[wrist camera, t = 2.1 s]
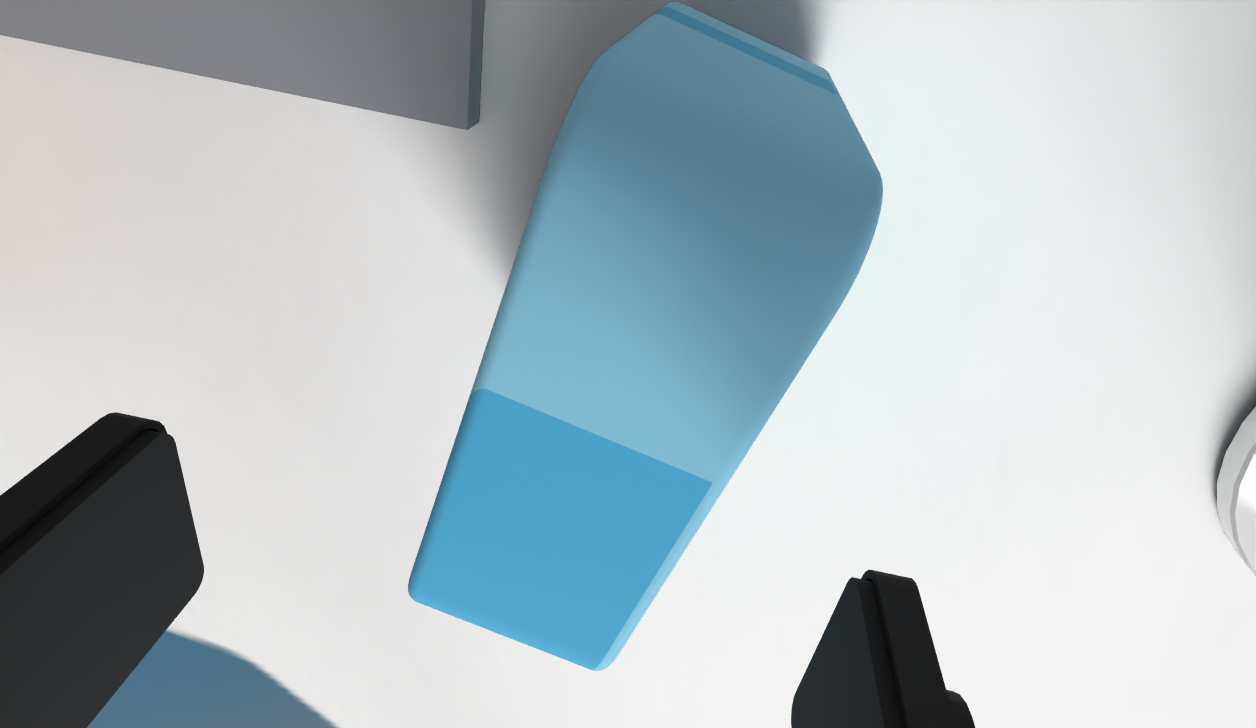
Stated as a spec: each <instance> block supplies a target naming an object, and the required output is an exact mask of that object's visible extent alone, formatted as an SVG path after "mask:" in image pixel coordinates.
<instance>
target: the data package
mask: <svg viewBox="0 0 1256 728" xmlns="http://www.w3.org/2000/svg"><path fill="white" fill-rule="evenodd" d="M882 195H883V186H882V179H881V176H880V173H879V171H878V169H877V167H876V165H875V163H874V161H873V159H872V157H871V155H870V153H869V151H868V149H867V147H866V145H865V143H864V141H863V139H862V137H861V135H860V133H859V131H858V130H857V128H856V126H855V124H854V122H853V120H852V118H851V116H850V114H849V112H848V110H847V108H846V106H845V104H844V102H843V100H842V98H841V96H840V94H839V92H838V90H837V88H836V87H835V85H834V83H833V81H832V79H831V77H830V75H829V73H828V72H827V71H826V70H825V69H823V68H821V67H819V66H817V65H815V64H813V63H811V62H808V61H806V60H804V59H802V58H800V57H798V56H795V55H793V54H791V53H789V52H787V51H784V50H782V49H780V48H778V47H776V46H774V45H771V44H769V43H767V42H765V41H763V40H761V39H758V38H756V37H754V36H752V35H750V34H748V33H745V32H743V31H741V30H739V29H737V28H735V27H732V26H730V25H728V24H726V23H724V22H722V21H719V20H717V19H715V18H713V17H711V16H709V15H706V14H704V13H702V12H700V11H698V10H696V9H693V8H691V7H689V6H687V5H685V4H682V3H680V2H678V1H671V2H669V3H667V4H666V5H664V6H663V7H662V8H661V9H659V10H658V11H657V12H655V13H654V14H653V15H651V16H650V17H649V18H648V19H646V20H645V21H644V22H642V23H641V24H640V25H638V26H637V27H636V28H635V29H633V30H632V31H631V32H629V33H628V34H627V35H626V36H624V37H623V38H622V39H620V40H619V41H618V42H616V43H615V44H614V45H613V46H611V47H610V48H609V49H607V50H606V51H605V52H603V53H602V54H601V55H600V56H599V57H598V58H597V59H596V61H595V62H594V63H593V65H592V66H591V68H590V69H589V71H588V73H587V74H586V76H585V78H584V80H583V82H582V84H581V85H580V87H579V89H578V91H577V93H576V95H575V98H574V100H573V102H572V104H571V106H570V108H569V110H568V113H567V115H566V117H565V120H564V122H563V124H562V127H561V129H560V131H559V134H558V136H557V139H556V141H555V144H554V147H553V149H552V152H551V154H550V157H549V160H548V163H547V165H546V168H545V171H544V174H543V177H542V180H541V183H540V186H539V189H538V192H537V195H536V198H535V201H534V204H533V207H532V210H531V213H530V216H529V219H528V222H527V225H526V228H525V231H524V234H523V237H522V240H521V243H520V246H519V249H518V252H517V255H516V258H515V261H514V264H513V267H512V270H511V273H510V276H509V279H508V282H507V285H506V288H505V291H504V294H503V297H502V300H501V303H500V306H499V309H498V312H497V316H496V319H495V322H494V325H493V328H492V331H491V334H490V337H489V340H488V343H487V346H486V349H485V352H484V355H483V358H482V361H481V364H480V367H479V370H478V373H477V376H476V379H475V382H474V385H473V388H472V391H471V394H470V397H469V400H468V403H467V406H466V409H465V412H464V415H463V418H462V421H461V424H460V427H459V430H458V433H457V436H456V439H455V442H454V445H453V448H452V451H451V454H450V457H449V460H448V463H447V466H446V469H445V472H444V475H443V478H442V481H441V484H440V487H439V491H438V494H437V497H436V500H435V503H434V506H433V509H432V512H431V515H430V518H429V521H428V524H427V527H426V530H425V533H424V536H423V539H422V542H421V545H420V548H419V551H418V554H417V557H416V560H415V563H414V566H413V569H412V572H411V575H410V579H409V584H408V592H409V595H410V596H411V598H412V599H413V600H415V601H416V602H419V603H421V604H424V605H426V606H429V607H432V608H434V609H437V610H439V611H442V612H444V613H447V614H449V615H452V616H455V617H457V618H460V619H462V620H465V621H467V622H470V623H473V624H475V625H478V626H480V627H483V628H485V629H488V630H491V631H493V632H496V633H498V634H501V635H503V636H506V637H509V638H511V639H514V640H516V641H519V642H521V643H524V644H526V645H529V646H532V647H534V648H537V649H539V650H542V651H544V652H547V653H550V654H552V655H555V656H557V657H560V658H562V659H565V660H568V661H570V662H573V663H575V664H578V665H580V666H583V667H585V668H588V669H591V670H595V671H600V670H603V669H605V668H607V667H608V666H609V665H610V664H611V663H612V662H613V661H614V660H615V658H616V657H617V655H618V654H619V653H620V651H621V649H622V648H623V646H624V645H625V643H626V642H627V640H628V638H629V637H630V635H631V634H632V632H633V631H634V629H635V627H636V626H637V624H638V623H639V621H640V620H641V618H642V616H643V615H644V613H645V612H646V610H647V609H648V607H649V605H650V604H651V602H652V601H653V599H654V598H655V596H656V595H657V593H658V591H659V590H660V588H661V587H662V585H663V584H664V582H665V580H666V579H667V577H668V576H669V574H670V573H671V571H672V569H673V568H674V566H675V565H676V563H677V562H678V560H679V558H680V557H681V555H682V554H683V552H684V551H685V549H686V547H687V546H688V544H689V543H690V541H691V540H692V538H693V536H694V535H695V533H696V532H697V530H698V529H699V527H700V526H701V524H702V522H703V521H704V519H705V518H706V516H707V515H708V513H709V511H710V510H711V508H712V507H713V505H714V504H715V502H716V500H717V499H718V497H719V496H720V494H721V493H722V491H723V489H724V488H725V486H726V485H727V483H728V482H729V480H730V478H731V477H732V475H733V474H734V472H735V471H736V469H737V468H738V466H739V464H740V463H741V461H742V460H743V458H744V457H745V455H746V453H747V452H748V450H749V449H750V447H751V446H752V444H753V442H754V441H755V439H756V438H757V436H758V435H759V433H760V431H761V430H762V428H763V427H764V425H765V424H766V422H767V420H768V419H769V417H770V416H771V414H772V413H773V411H774V410H775V408H776V406H777V405H778V403H779V402H780V400H781V399H782V397H783V395H784V394H785V392H786V391H787V389H788V388H789V386H790V384H791V383H792V381H793V380H794V378H795V377H796V375H797V373H798V372H799V370H800V369H801V367H802V366H803V364H804V362H805V361H806V359H807V358H808V356H809V355H810V353H811V351H812V350H813V348H814V347H815V345H816V344H817V342H818V341H819V339H820V337H821V336H822V334H823V333H824V331H825V330H826V328H827V326H828V325H829V323H830V322H831V320H832V319H833V317H834V315H835V314H836V312H837V311H838V309H839V307H840V306H841V304H842V302H843V301H844V299H845V297H846V296H847V294H848V292H849V290H850V288H851V287H852V285H853V283H854V281H855V279H856V277H857V275H858V273H859V270H860V268H861V266H862V264H863V262H864V259H865V257H866V254H867V252H868V249H869V247H870V244H871V241H872V239H873V236H874V233H875V229H876V226H877V223H878V219H879V215H880V210H881V204H882Z"/></svg>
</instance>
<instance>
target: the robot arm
mask: <svg viewBox="0 0 1256 728" xmlns="http://www.w3.org/2000/svg"><path fill="white" fill-rule="evenodd" d="M1217 511H1218V514H1219V518H1220V521H1221V524H1222V527H1223V530H1224V533H1225V535H1226V537H1227V538H1228V540H1229V541H1230V542H1231V544H1232V545H1233V547H1234V548H1235V550H1236V551H1237V552H1238V554H1239V555H1240V557H1241V558H1242V559H1243V561H1244V562H1245V564H1246V565H1247V566H1248V567H1249V568H1250V569H1251V570H1252V572H1253V573H1254V574H1255V575H1256V407H1255V408H1254V409H1253V410H1252V412H1251V413H1250V414H1249V415H1248V416H1247V418H1246V419H1245V420H1244V421H1243V422H1242V424H1241V426H1240V428H1239V430H1238V431H1237V433H1236V435H1235V437H1234V438H1233V440H1232V442H1231V444H1230V446H1229V447H1228V449H1227V451H1226V453H1225V456H1224V460H1223V463H1222V467H1221V470H1220V474H1219V477H1218V481H1217ZM203 574H204V565H203V561H202V557H201V552H200V548H199V543H198V539H197V535H196V530H195V526H194V522H193V517H192V513H191V509H190V504H189V500H188V495H187V491H186V487H185V482H184V478H183V474H182V469H181V465H180V461H179V456H178V452H177V448H176V443H175V441H174V438H173V437H172V436H171V435H169V434H167V432H166V429H165V427H164V425H162V424H161V423H160V422H159V421H154V420H150V419H145V418H140V417H135V416H131V415H126V414H121V413H116V412H115V413H110V414H107V415H106V416H104V417H102V418H100V419H99V420H98V421H97V422H95V423H94V424H93V425H91V426H90V427H89V428H87V429H86V430H85V431H84V432H82V433H81V434H80V435H78V436H77V437H76V438H74V439H73V440H72V441H71V442H69V443H68V444H67V445H65V446H64V447H63V448H62V449H60V450H59V451H58V452H56V453H55V454H54V455H52V456H51V457H50V458H49V459H47V460H46V461H45V462H43V463H42V464H41V465H40V466H38V467H37V468H36V469H34V470H33V471H32V472H30V473H29V474H28V475H27V476H25V477H24V478H23V479H21V480H20V481H19V482H18V483H16V484H15V485H14V486H12V487H11V488H10V489H8V490H7V491H6V492H5V493H3V494H2V495H1V496H0V728H87V727H88V725H89V724H90V723H91V722H92V720H93V719H94V718H95V717H96V715H97V714H98V713H99V712H100V710H101V709H102V708H103V707H104V706H105V704H106V703H107V702H108V700H109V699H110V698H111V697H112V696H113V694H114V693H115V692H116V691H117V690H118V688H119V687H120V686H121V685H122V683H123V682H124V681H125V679H126V678H127V677H128V676H129V675H130V673H131V672H132V671H133V670H134V668H135V667H136V666H137V665H138V664H139V662H140V661H141V660H142V659H143V658H144V656H145V655H146V654H147V653H148V651H149V650H150V649H151V648H152V646H153V645H154V644H155V643H156V641H157V640H158V639H159V638H160V637H161V635H162V634H163V633H164V632H165V630H166V629H167V628H168V627H169V626H170V624H171V623H172V622H173V621H174V619H175V618H176V617H177V616H178V614H179V613H180V612H181V611H182V610H183V608H184V607H185V606H186V605H187V603H188V602H189V601H190V600H191V598H192V597H193V596H194V595H195V593H196V592H197V590H198V588H199V586H200V584H201V582H202V579H203ZM791 725H792V728H975V725H974V722H973V719H972V716H971V713H970V711H969V708H968V706H967V703H966V702H965V701H964V699H963V698H962V697H961V696H960V694H957V693H955V692H953V691H949V690H946V688H945V684H944V681H943V677H942V673H941V670H940V666H939V662H938V659H937V655H936V652H935V648H934V644H933V641H932V637H931V633H930V630H929V626H928V623H927V619H926V615H925V612H924V608H923V604H922V601H921V597H920V594H919V590H918V587H917V585H916V582H915V581H914V580H913V579H912V578H907V577H902V576H897V575H893V574H888V573H883V572H878V571H873V570H868V571H866V572H865V573H864V575H863V576H862V578H861V579H858V578H853V577H852V578H851V579H849V581H848V582H847V584H846V587H845V589H844V591H843V593H842V595H841V597H840V599H839V601H838V604H837V606H836V608H835V610H834V612H833V614H832V616H831V618H830V621H829V623H828V625H827V627H826V629H825V631H824V633H823V636H822V638H821V640H820V642H819V644H818V646H817V648H816V650H815V653H814V655H813V657H812V659H811V661H810V663H809V665H808V668H807V670H806V672H805V674H804V676H803V678H802V680H801V682H800V685H799V687H798V689H797V691H796V693H795V696H794V700H793V704H792V713H791Z"/></svg>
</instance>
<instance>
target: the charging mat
mask: <svg viewBox="0 0 1256 728" xmlns="http://www.w3.org/2000/svg"><path fill="white" fill-rule="evenodd" d="M483 20H484V0H0V35H4V36H9V37H14V38H19V39H23V40H28V41H33V42H38V43H43V44H48V45H53V46H58V47H63V48H68V49H73V50H78V51H82V52H87V53H92V54H97V55H102V56H107V57H112V58H117V59H122V60H127V61H132V62H136V63H141V64H146V65H151V66H156V67H161V68H166V69H171V70H176V71H181V72H186V73H191V74H195V75H200V76H205V77H210V78H215V79H220V80H225V81H230V82H235V83H240V84H245V85H249V86H254V87H259V88H264V89H269V90H274V91H279V92H284V93H289V94H294V95H299V96H303V97H308V98H313V99H318V100H323V101H328V102H333V103H338V104H343V105H348V106H353V107H358V108H362V109H367V110H372V111H377V112H382V113H387V114H392V115H397V116H402V117H407V118H412V119H416V120H421V121H426V122H431V123H436V124H441V125H446V126H451V127H456V128H461V129H466V130H468V129H469V128H471V127H472V126H474V125H475V124H477V123H478V122H479V109H480V87H481V64H482V42H483Z"/></svg>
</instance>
